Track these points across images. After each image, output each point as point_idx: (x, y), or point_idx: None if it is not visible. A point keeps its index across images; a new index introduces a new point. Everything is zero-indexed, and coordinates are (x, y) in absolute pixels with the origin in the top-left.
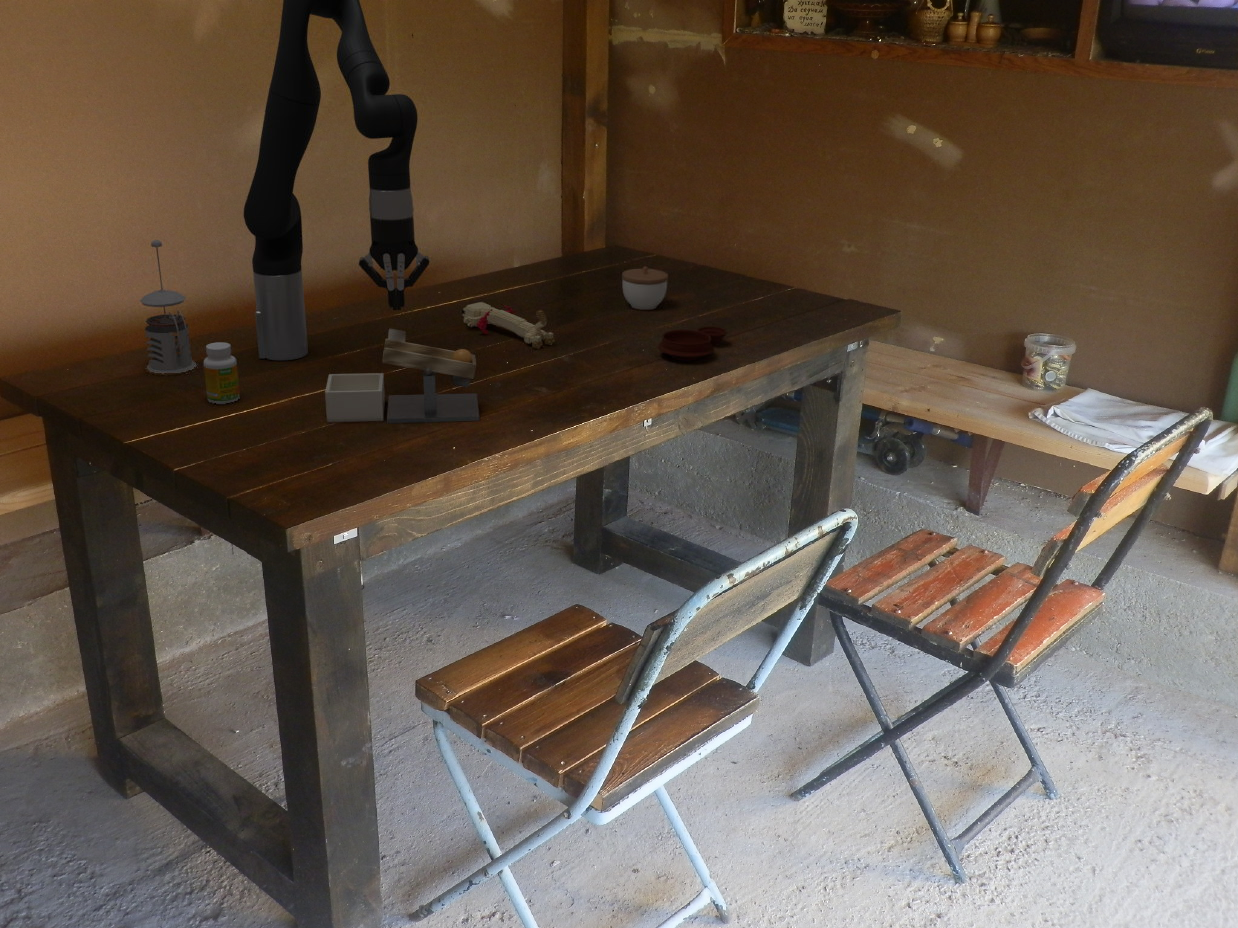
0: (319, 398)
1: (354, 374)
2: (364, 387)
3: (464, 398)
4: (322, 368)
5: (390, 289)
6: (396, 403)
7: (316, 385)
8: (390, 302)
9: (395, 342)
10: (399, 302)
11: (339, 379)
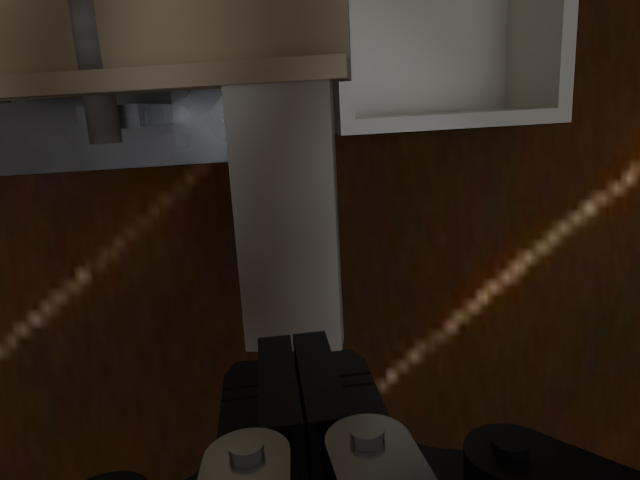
0: (550, 169)
1: (465, 119)
2: (409, 114)
3: (9, 118)
4: None
5: (369, 424)
6: None
7: (562, 295)
8: (351, 370)
9: (279, 58)
10: (267, 364)
11: (520, 109)
